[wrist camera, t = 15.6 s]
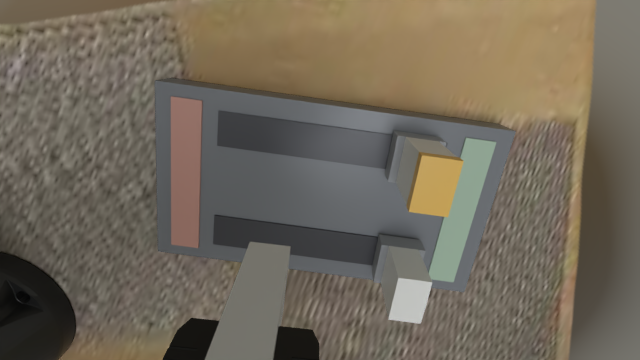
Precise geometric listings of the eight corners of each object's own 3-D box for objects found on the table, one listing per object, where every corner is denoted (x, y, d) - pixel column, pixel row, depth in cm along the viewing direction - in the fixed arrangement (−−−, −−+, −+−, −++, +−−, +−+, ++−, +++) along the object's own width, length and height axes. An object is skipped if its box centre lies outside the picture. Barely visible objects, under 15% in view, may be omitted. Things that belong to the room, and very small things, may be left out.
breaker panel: (171, 235, 35) (117, 297, 27) (171, 77, 30) (104, 88, 22) (453, 273, 36) (494, 346, 27) (498, 124, 31) (567, 153, 22)
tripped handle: (384, 174, 29) (400, 210, 23) (393, 129, 28) (412, 154, 21) (428, 180, 29) (456, 218, 23) (439, 136, 28) (473, 162, 21)
